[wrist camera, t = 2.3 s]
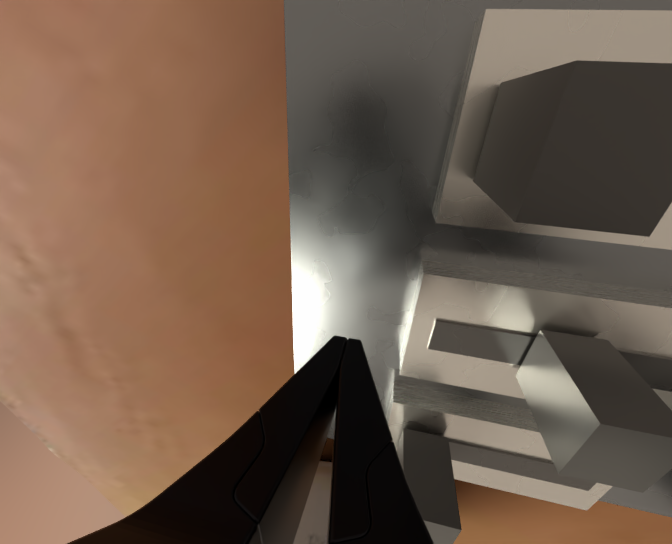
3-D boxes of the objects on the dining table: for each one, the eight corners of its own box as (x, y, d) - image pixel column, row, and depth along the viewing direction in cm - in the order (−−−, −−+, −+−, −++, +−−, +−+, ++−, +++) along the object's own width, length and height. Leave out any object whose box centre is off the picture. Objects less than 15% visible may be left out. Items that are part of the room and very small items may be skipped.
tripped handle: (607, 339, 8) (702, 443, 6) (575, 386, 9) (642, 492, 7) (540, 329, 8) (600, 424, 6) (515, 375, 9) (557, 473, 7)
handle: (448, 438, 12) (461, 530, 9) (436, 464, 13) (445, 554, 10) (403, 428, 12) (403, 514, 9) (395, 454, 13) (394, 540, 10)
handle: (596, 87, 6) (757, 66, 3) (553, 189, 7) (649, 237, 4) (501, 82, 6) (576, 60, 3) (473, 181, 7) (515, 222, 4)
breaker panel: (1223, -1, 5) (1798, -79, 3) (651, 481, 14) (696, 549, 12) (302, -3, 8) (264, -48, 6) (304, 406, 17) (289, 450, 15)
